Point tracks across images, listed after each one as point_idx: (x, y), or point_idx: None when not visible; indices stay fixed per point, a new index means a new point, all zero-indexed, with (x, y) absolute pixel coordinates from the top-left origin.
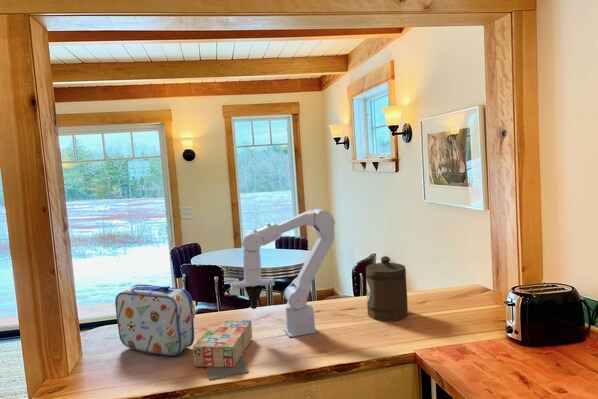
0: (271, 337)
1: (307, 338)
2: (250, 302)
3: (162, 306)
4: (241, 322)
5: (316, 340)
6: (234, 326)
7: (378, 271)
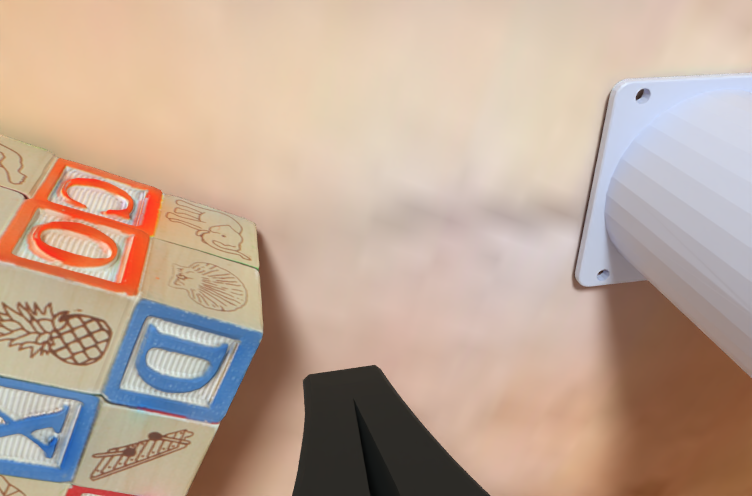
0: (438, 224)
1: (673, 323)
2: (304, 445)
3: None
4: (120, 366)
5: (701, 367)
6: (24, 446)
7: None
